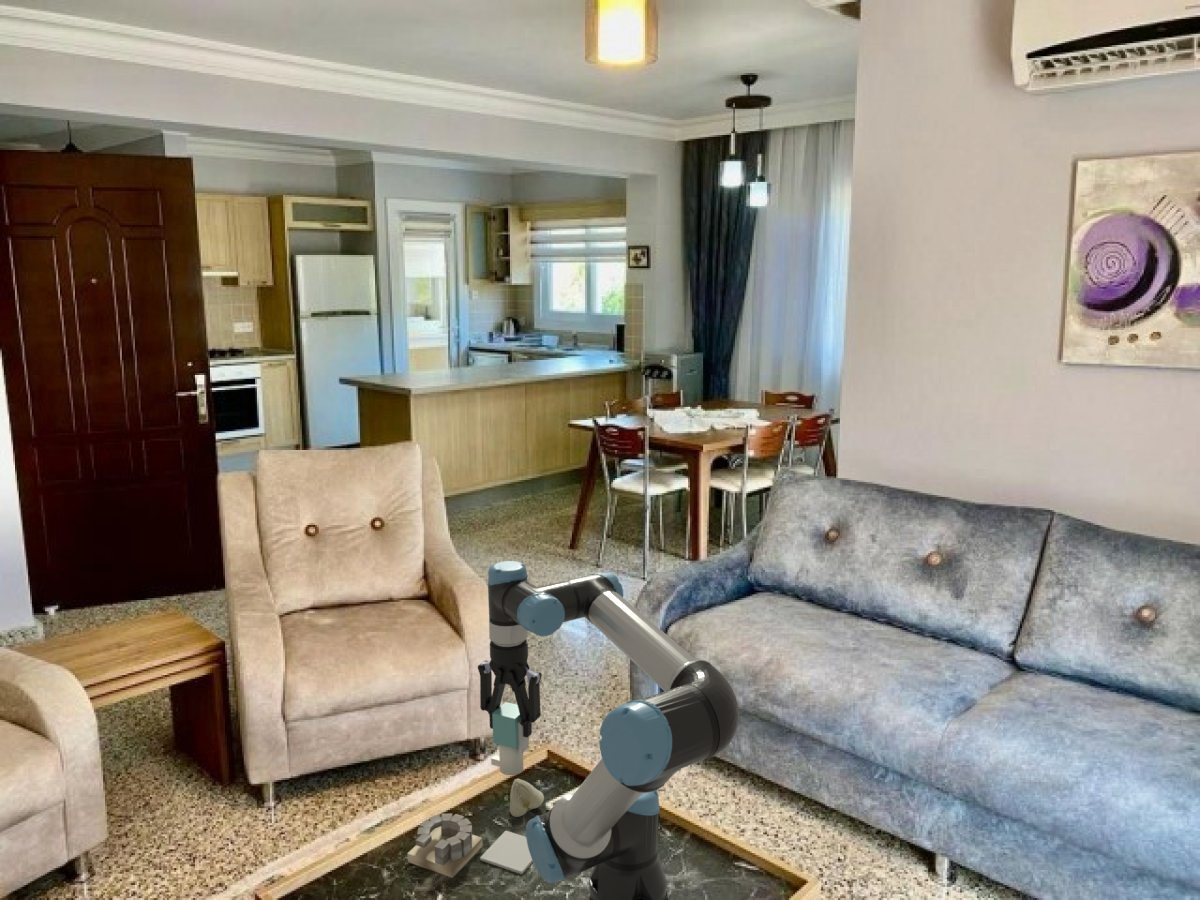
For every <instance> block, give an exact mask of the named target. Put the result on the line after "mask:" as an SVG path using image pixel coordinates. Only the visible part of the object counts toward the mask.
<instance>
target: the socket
mask: <svg viewBox="0 0 1200 900" xmlns="http://www.w3.org/2000/svg"><path fill="white" fill-rule="evenodd" d="M416 834H417V835H416V836H417V837H416V839H415V845H414V847H413V848H411V849H410V850H409V851H408V852H407V853H406V854H407V862H408V863H409V864H412V865H416V866H418V867H421V868H422V869H423V868H424V869H426V870H429V871H432V872H435V873H438V874H441V875H442V876H443V875H444V876H446V877H449V878H451V879H452V878H453V879H454V877H455V876H456V875H457V873H459V872H460V871H461V870H462V868H464V866H466V865H467V864H468V862H469V861H470V860H471V859H472V858H473V857H474V856H475V855H476V854H477V853H478V852H479V851H480V850H481V848H483V837H481V836H478V835H476V834H473V825H472V822H471V821H470V820H469V819H468V818H467V817H466V818H465V816H463V815H460V814H458V813H455V814H454V815H453V813H441V815H440V814H437V815H436V814H435V815H433V816H431V817H428V819H425V820H424V821H423V822H422V823H420V825H419V827H418V829H417V833H416Z"/></svg>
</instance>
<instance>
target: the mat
mask: <svg viewBox="0 0 1200 900" xmlns="http://www.w3.org/2000/svg"><path fill="white" fill-rule="evenodd" d="M479 859H480V860H479V861H482V862H485V863H487V864H491V865H493V866H497V867H499V868H503V869H505V870H508V871H511V872H514V873H517V874H520V875H523V874H524V873H525V872H526V871H527V869H528V868H529V867H530V866H531V864H532V863H533V860H532V858H531V855H530V852H529V849H528V845H527V839H526V835H525V836H524V835H521V834H518V833H515V832H511V831H510V830H509V831H508V830H505V831H504V832H503V833H502V834H501V835H500V836H499V837H498V838H497V839H496V840H495V841H494V842H493V843H492V844H491V845H490V846H489V847H488V849H486V851H485V852H484V853H483V854H482V855H481V856H480V857H479Z"/></svg>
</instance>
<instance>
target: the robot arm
mask: <svg viewBox="0 0 1200 900" xmlns="http://www.w3.org/2000/svg"><path fill="white" fill-rule="evenodd" d="M528 576H529V575H528V573H527V566H526V565H525V564H524V563H522V562H521V561H515V560H513V561H512V560H503V561H499V562H495V563H493V564H492V565H491V566H490V567H489V568H488V575H487V581H488V582H487V584H486V586H487V593H488V594H487V595H488V615H489V616H488V617H489V618H488V619H489V620H488V629H489V630H488V632H489V658H490V660H489V661H488V660H487V659H485V660H484V661H482V662H481V663H480V664H477V670H478V674H479V677H480V678H479V679H480V680H479V682H480V686H479V687H480V688H479V691H480V694H479V695H480V696H479V697H480V698H479V700H480V710H481V711H486V712H487V713H488V715H489V716H488V717H489V728H490V729H492V730H493V718H492V713H493V712H495V711H496V710H497V709H498V708H499V707H501V703H502V700H503V697H504V691H505V687H506V685H508V686H510V688H511V691H512V693H513V692H514V696H515V701H516V704H517V705H518V709H519V713H520V717H521V721H520V722H519V723H518V739H519V753H523V754H524V752H525V751H527V750H528V749H529V747H530V744H529V743H530V741H529V737H530V736H531V735H532V734H533V733H532V732H533V727H532V726H533V723H535V722H536V721H537V720H538V719H539V718H540V717H541V716H542V713H541V690H540V688H541V687H540V685H541V684H540V683H541V679H542V677H543V674H542V673H541V672H540V671H537V672H534V671H533V670H531V669H530V665H529V664H528V657H529V640H528V634H529V633H528V632H530V633H533V634H535V636H538V637H550V636H552V635H553V634H554V633H555V632H557V630H560V628H561V627H562V626H563V623H567V622H569V621H574V620H578V619H582V618H585V619H587V621H589V622H590V623H591V624H592V625H593V626H594V627H595V628H597V629H598V631H599V632H600V633H602V634H603V635H604V636H605V637H606V638H607V639H608V640H610V642H612V643H613V644H614V646H616V647H617V649H619V650H620V651H621V652H622V653H623V655H625V656H626V657H627V658H629V660H630V661H632V662H633V663H634V665H636V666H637V668H639V669H640V670H641V671H642V672H643V673H644V674H645V675H646V676H648V677H649V679H651V680H652V682H654V683H655V684H656V685H657V686H658V687H660V689H662V690H663V691H662V692H659V693H657V694H653V695H649V696H646V697H643V698H640V699H632V700H629V701H627V702H625V703H622V704H621V705H619V706H617V707H615V708H613V709H611V710H610V711H609V713H607V714H606V715H605V717H604V719H603V721H602V723H601V725H600V730H599V735H600V736H601V738H600V739H599V741H598V743H599V751H600V756H601V758H600V760H599V761H598V762H597V764H596V765H595V766H594V768H593V769H592V771H591V772H590V773H589V774H588V776H587V777H586V778H585V779H584V781H583V782H582V783H581V785H580V786H579V787H578V788H577V789H576V790H575V791H574V792H571V793H568V794H566V795H564V796H562V797H561V798H560V799H558V800H557V801H556V802H555V804H554V805H553V806H552V808H550V810H549V811H548V812H545V813H543V814H540V815H536V816H535V817H534V818H531V819H529V820H528V821H527V823H526V825H525V837H526V839H527V845H528V849H529V852H530V855H531V858H532V860H533V862H532V863H533V865H534V866H535V869H536V870H537V872H538V874H539V875H540V877H541V878H542V879H543V880H544V881H545V882H546V883H548V884H556V883H558V882H561V881H562V882H565V880H567V879H569V878H571V877H574V876H576V875H578V874H580V873H583V872H585V871H587V870H589V869H591V868H592V869H591V871H590V875H589V881H588V882H589V883H588V884H589V885H588V887H589V888H588V891H589V892H588V893H589V896H590V898H591V900H665V899H666V896H667V878H666V875H665V871H664V869H663V866H662V862H661V859H660V856H659V826H660V825H659V824H660V823H659V821H660V812H661V811H660V810H661V808H660V802H659V801H660V798H659V797H660V796H659V792H658V790H659V789H661V788H662V787H664V785H666V783H667V782H668V781H669V780H670V779H671V778H672V776H674V775H675V773H677V772H679V771H680V770H682V769H684V768H686V767H689V766H692V765H694V764H696V763H700V762H701V761H704V760H706V759H711V758H712V757H715V756H716V755H719V754H720V753H721V752H723V751H724V750H725V749H726V748H727V747H728V746H729V745H730V743H732V741H733V739H734V737H735V735H736V734H737V733H736V732H737V730H738V726H739V721H740V720H739V719H740V711H739V710H740V709H739V705H738V699H737V696H736V694H735V691H734V689H733V687H732V686H731V684H730V683H729V681H728V679H727V678H726V677H725V676H724V675H723V673H721V672H720V671H719V670H718V668H716V667H715V666H714V665H712V664H711V663H710V662H709V661H707V660H705V659H696V658H695V657H693V656H692V655H691V654H690V653H689V652H688V651H686V650H685V649H684V648H683V647H682V646H680V645H679V643H677V642H676V641H674V639H672V638H671V637H670V636H668V634H666V632H664V631H663V630H662V629H660V627H659V626H657V625H656V624H655V623H654V622H652V620H650V619H649V618H647V617H646V616H645V614H643V613H641V612H640V611H639V610H638V609H637V608H636V607H635V606H634V605H632V604H631V603H630V602H629V601H628V600H626V599H625V598H624V589H623V586H622V583H621V582H620V581H619V578H618V577H617V576H616V575H615V574H614V573H612V572H608V571H606V572H601V573H600V572H599V573H596V572H595V573H592V574H589V575H586V576H581V577H577V578H571V579H569V580H563V581H560V582H555V583H550V584H546V585H541V586H535V585H534V584H532V583H530V582H529V581H528ZM492 673H493V674H494V676H495V677H494V682H493V677H492V676H493V675H492ZM525 677H526V678H527V681H526V679H525ZM492 682H493V684H492ZM527 683H528V685H527ZM526 685H527V686H528V688H526ZM527 691H528V692H527ZM492 743H493V742H492ZM493 747H495V748H496V747H497V748H498V747H499V744H495V743H493Z"/></svg>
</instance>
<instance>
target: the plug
mask: <svg viewBox="0 0 1200 900" xmlns="http://www.w3.org/2000/svg"><path fill="white" fill-rule="evenodd" d="M492 718H493V729H492V743H495V744H499V745H498V749H499V751H498V752H499V753H498V754H499V755H496V754H494V755H493V756H492V757H491V758H490V759H491V760H490V761H491V763H490V764H491V766H496V767H499V772H500V773H501V774H503V775H504V776H517V775H518V774H521V773H522V772H523V771H524V752H523V753H519V739H518V723H519V722H520V721H521V717H520V713H519V709H518V705H517V703H516V704H515V703H512V702H508V701H505V702H504V703H503V704H502V705H500V707H499V708H498V709H497V710H496V711H495V712H493V713H492Z"/></svg>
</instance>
